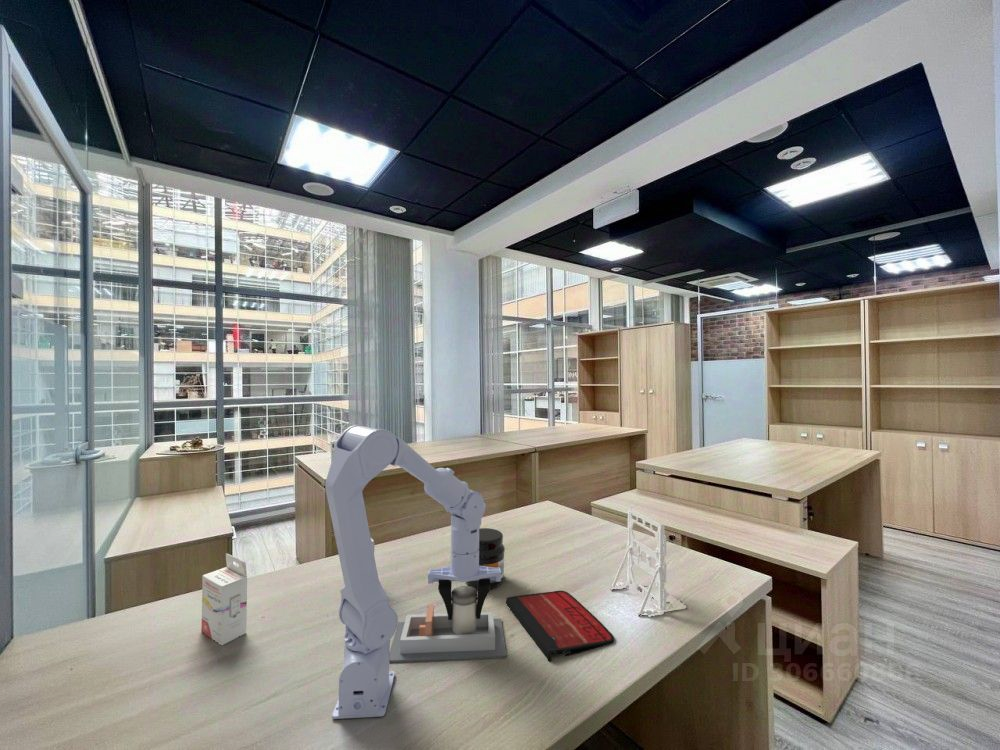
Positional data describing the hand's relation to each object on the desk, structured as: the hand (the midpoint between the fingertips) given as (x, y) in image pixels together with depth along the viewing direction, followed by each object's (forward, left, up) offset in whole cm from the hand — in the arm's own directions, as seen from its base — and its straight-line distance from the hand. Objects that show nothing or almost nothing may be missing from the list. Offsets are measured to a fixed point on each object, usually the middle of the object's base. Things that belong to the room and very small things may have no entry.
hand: (464, 616), depth 82 cm
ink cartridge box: (+5, +49, -5) cm, 49 cm away
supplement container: (+24, -5, -5) cm, 25 cm away
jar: (0, 0, -2) cm, 2 cm away
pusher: (0, +8, -4) cm, 9 cm away
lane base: (0, +3, -4) cm, 5 cm away
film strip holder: (+13, -44, -5) cm, 46 cm away
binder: (+5, -20, -5) cm, 21 cm away
